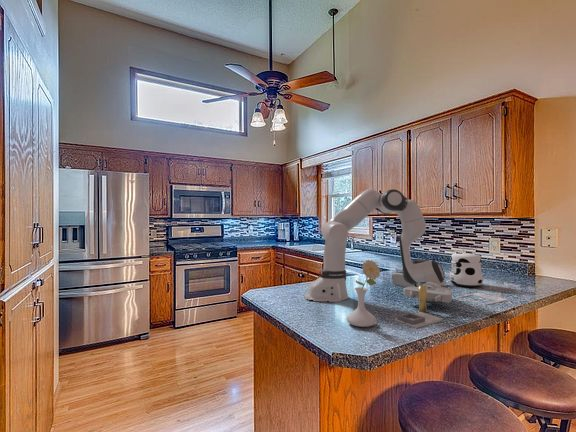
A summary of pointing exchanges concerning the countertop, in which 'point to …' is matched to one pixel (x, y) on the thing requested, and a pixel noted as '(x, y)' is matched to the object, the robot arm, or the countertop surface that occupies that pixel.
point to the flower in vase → (361, 314)
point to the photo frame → (484, 297)
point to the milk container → (466, 270)
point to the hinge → (401, 280)
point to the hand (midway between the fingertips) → (422, 297)
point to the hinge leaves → (417, 319)
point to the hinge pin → (423, 299)
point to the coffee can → (419, 262)
